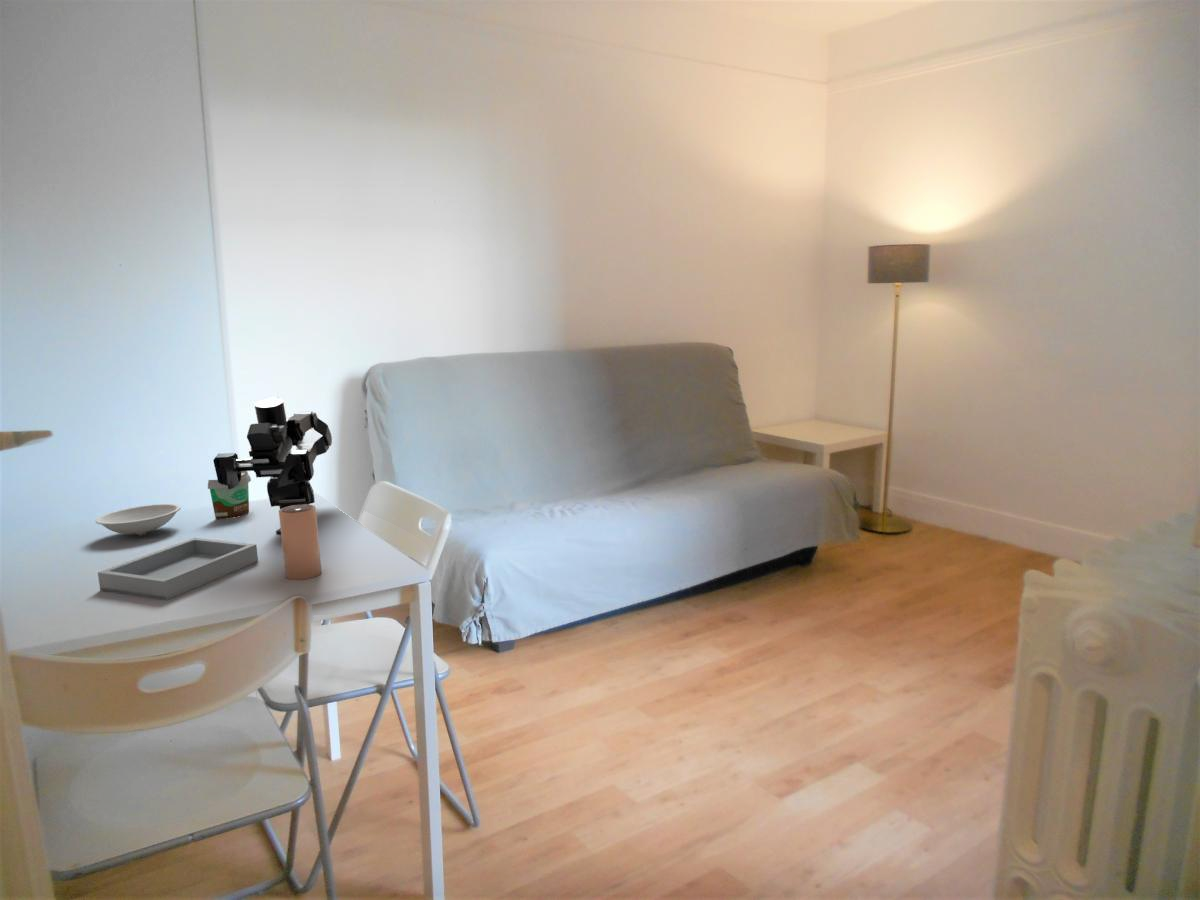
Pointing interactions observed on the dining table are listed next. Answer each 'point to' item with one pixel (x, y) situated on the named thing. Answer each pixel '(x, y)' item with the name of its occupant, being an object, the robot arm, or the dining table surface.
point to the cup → (300, 541)
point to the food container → (230, 498)
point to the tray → (177, 568)
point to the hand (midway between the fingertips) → (253, 485)
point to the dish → (138, 518)
